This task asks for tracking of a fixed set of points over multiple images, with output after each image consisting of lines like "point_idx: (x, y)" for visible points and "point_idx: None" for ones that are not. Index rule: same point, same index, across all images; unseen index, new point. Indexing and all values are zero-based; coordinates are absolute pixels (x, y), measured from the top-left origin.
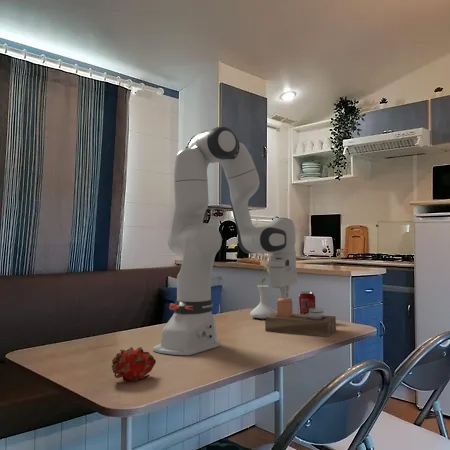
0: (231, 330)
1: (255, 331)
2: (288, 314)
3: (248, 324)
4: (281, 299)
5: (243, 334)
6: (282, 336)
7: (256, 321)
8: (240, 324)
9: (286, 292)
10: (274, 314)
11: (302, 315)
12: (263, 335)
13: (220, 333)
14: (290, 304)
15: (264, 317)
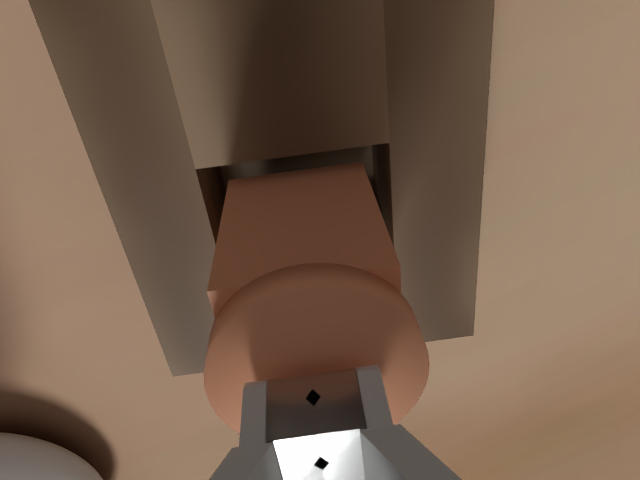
0: (501, 416)
1: (477, 308)
2: (370, 184)
3: None
4: (401, 385)
5: (596, 317)
6: (593, 58)
7: (159, 449)
8: None
9: (273, 465)
10: None
11: (161, 80)
12: (594, 203)
13: (602, 415)
14: (300, 254)
15: (76, 455)
